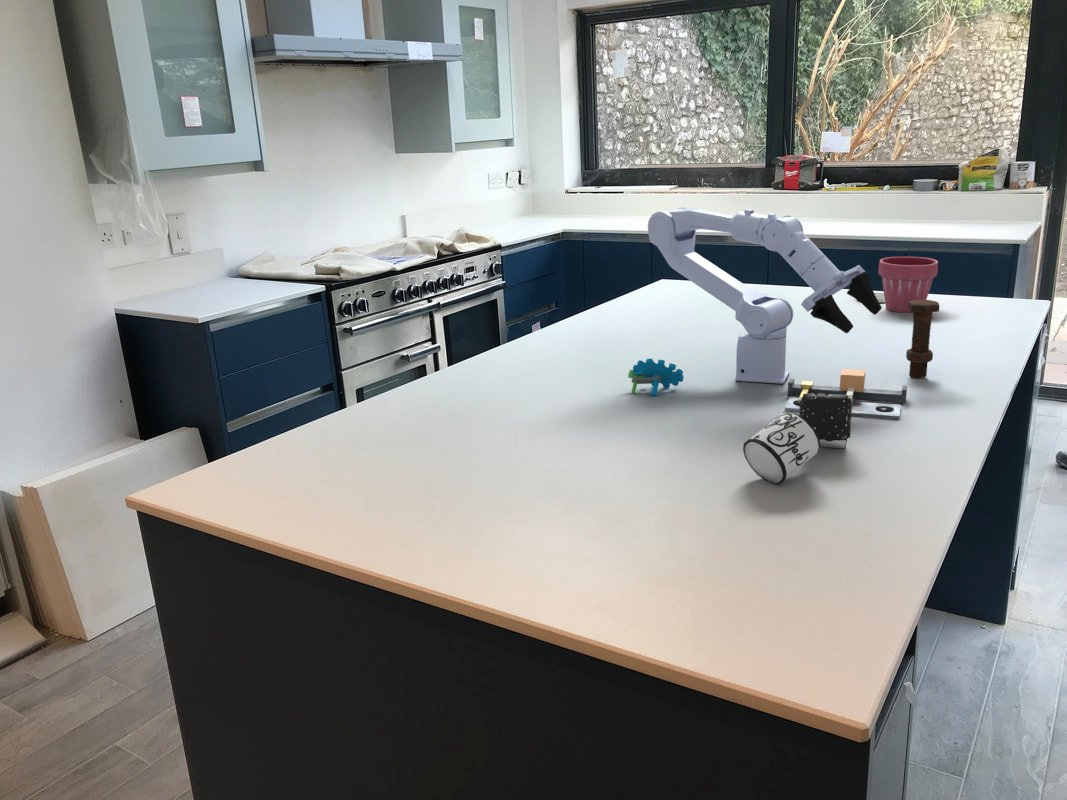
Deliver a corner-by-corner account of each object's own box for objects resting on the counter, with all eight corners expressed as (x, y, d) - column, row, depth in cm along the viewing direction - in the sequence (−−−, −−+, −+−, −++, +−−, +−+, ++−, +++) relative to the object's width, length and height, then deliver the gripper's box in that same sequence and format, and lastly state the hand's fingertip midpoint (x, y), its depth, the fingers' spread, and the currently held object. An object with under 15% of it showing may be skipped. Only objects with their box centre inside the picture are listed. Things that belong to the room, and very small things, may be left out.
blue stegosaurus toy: (692, 380, 173) (673, 354, 165) (686, 407, 170) (667, 381, 163) (641, 382, 179) (620, 357, 171) (635, 408, 176) (614, 383, 169)
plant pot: (943, 313, 224) (948, 263, 220) (887, 316, 224) (891, 265, 220) (920, 302, 237) (924, 255, 233) (868, 304, 238) (871, 257, 234)
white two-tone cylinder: (798, 499, 122) (800, 432, 119) (733, 483, 128) (734, 419, 125) (868, 445, 140) (872, 385, 137) (809, 434, 146) (811, 376, 143)
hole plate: (784, 410, 158) (784, 406, 157) (789, 400, 163) (790, 396, 163) (899, 419, 150) (899, 415, 150) (900, 408, 156) (900, 404, 155)
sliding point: (836, 404, 156) (837, 384, 155) (841, 388, 165) (842, 368, 164) (860, 406, 154) (861, 385, 153) (864, 389, 163) (865, 370, 162)
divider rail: (782, 406, 160) (782, 392, 159) (789, 391, 168) (790, 378, 167) (904, 415, 152) (905, 401, 151) (906, 399, 160) (907, 385, 159)
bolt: (934, 381, 169) (941, 305, 165) (906, 381, 170) (912, 305, 166) (928, 373, 175) (934, 299, 170) (901, 373, 176) (906, 299, 171)
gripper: (795, 272, 158) (846, 327, 154) (850, 238, 163) (901, 291, 159) (780, 293, 165) (829, 347, 161) (834, 260, 170) (883, 311, 166)
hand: (864, 320), depth 160 cm, fingers open, 7 cm apart
